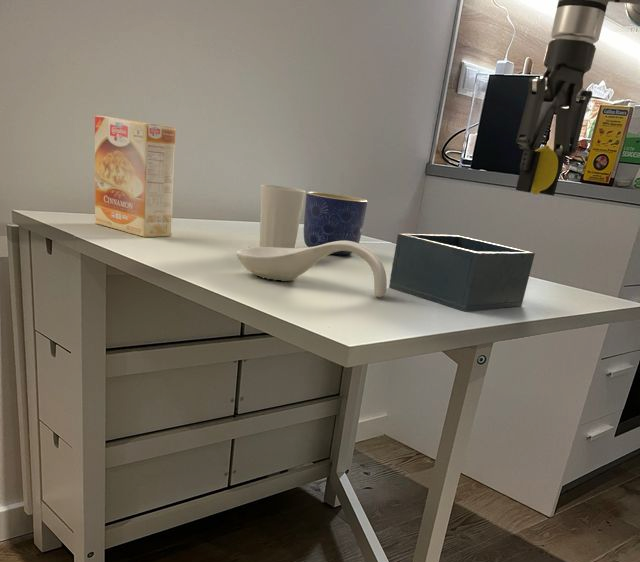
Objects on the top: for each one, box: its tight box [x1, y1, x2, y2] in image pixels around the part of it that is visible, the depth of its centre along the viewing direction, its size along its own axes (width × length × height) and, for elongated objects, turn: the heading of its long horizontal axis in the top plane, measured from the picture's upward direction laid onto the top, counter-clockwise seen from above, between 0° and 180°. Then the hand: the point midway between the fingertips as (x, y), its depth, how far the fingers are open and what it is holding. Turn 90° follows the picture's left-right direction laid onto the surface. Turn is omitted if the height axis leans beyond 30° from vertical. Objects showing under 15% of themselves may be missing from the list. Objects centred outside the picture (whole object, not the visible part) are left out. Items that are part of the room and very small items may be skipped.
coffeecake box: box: [94, 115, 177, 238], centre depth 125 cm, size 15×7×20 cm, turn 53°
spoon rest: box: [235, 241, 388, 298], centre depth 101 cm, size 24×12×7 cm, turn 75°
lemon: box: [531, 145, 558, 195], centre depth 115 cm, size 6×6×8 cm
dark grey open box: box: [388, 233, 535, 312], centre depth 107 cm, size 16×16×9 cm
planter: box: [303, 191, 368, 256], centre depth 135 cm, size 12×12×11 cm
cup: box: [259, 184, 306, 248], centre depth 120 cm, size 8×8×12 cm
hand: (535, 192), depth 116 cm, fingers closed on lemon, 5 cm apart
